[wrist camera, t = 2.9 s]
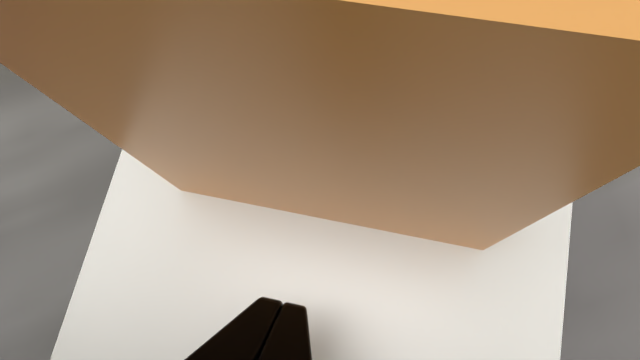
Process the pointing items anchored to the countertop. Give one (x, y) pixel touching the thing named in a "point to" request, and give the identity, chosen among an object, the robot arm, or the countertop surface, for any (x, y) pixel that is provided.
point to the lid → (336, 165)
